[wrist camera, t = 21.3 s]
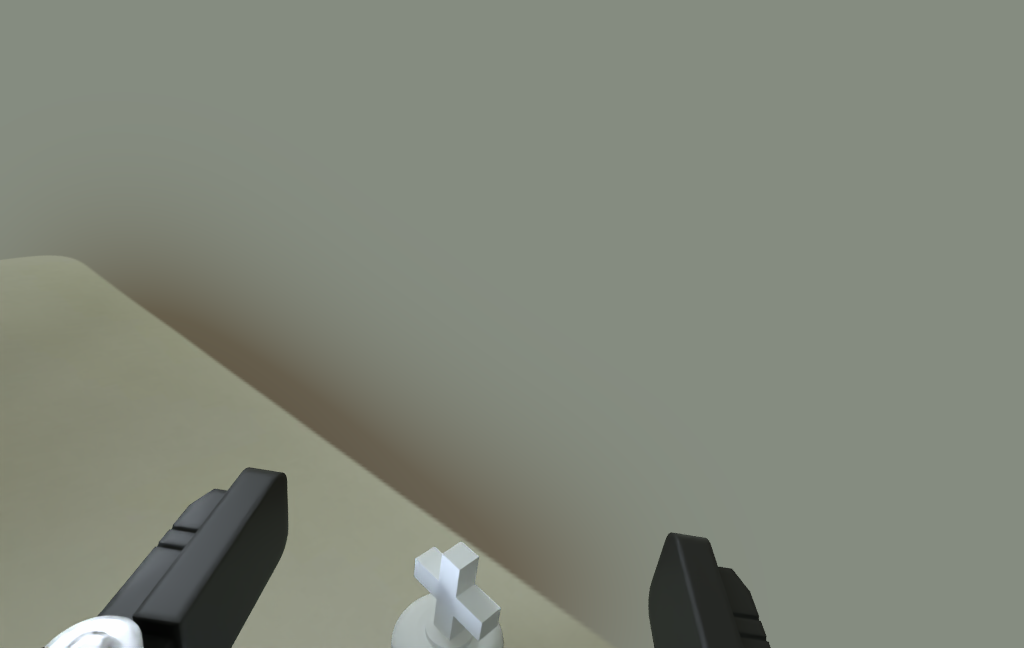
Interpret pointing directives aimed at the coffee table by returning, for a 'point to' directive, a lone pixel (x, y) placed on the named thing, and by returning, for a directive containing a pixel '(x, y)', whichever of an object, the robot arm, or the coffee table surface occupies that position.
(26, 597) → the coffee table surface
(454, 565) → the chess piece
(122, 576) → the coffee table surface
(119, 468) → the coffee table surface
